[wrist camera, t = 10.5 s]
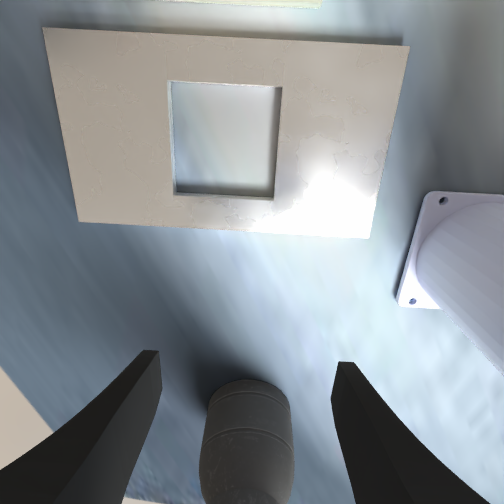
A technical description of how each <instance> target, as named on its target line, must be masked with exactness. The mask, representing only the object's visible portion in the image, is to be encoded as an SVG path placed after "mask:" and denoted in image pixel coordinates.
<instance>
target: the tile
mask: <svg viewBox="0 0 504 504" xmlns="http://www.w3.org/2000/svg"><path fill="white" fill-rule="evenodd" d="M157 1H177V2H196V3H216V4H236V5H255V6H275V7H294V8H314V9H319V8H320V6H321V4H322V0H157Z"/></svg>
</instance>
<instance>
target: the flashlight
mask: <svg viewBox="0 0 504 504" xmlns="http://www.w3.org/2000/svg"><path fill="white" fill-rule="evenodd" d="M199 477H200V484H201V491H202V496H203V498H204V500H205V502H206V504H287V502H288V500H289V497H290V494H291V489H292V485H293V480H294V447H293V436H292V424H291V413H290V406H289V402H288V400H287V398H286V396H285V395H284V394H283V393H282V392H281V391H280V390H279V389H277V388H276V387H275V386H273V385H270V384H268V383H265V382H262V381H258V380H238V381H233V382H230V383H227V384H225V385H224V386H222V387H220V388H219V389H218V390H216V391H215V393H214V394H213V395H212V397H211V399H210V401H209V406H208V412H207V417H206V423H205V429H204V435H203V441H202V447H201V453H200V460H199Z"/></svg>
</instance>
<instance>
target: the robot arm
mask: <svg viewBox="0 0 504 504" xmlns="http://www.w3.org/2000/svg"><path fill="white" fill-rule="evenodd" d="M442 197H445V200H444V202H442V203H441V204H439V200H440V199H441V198H442ZM412 298H414V299H413V301H410V302H409V300H410V299H412ZM396 302H397V303H398V305H400V306H402V307H414V308H432V309H442V311H443V312H444V313H445V314H446V315H447V316H448V317H449V318H450V319H451V320H452V321H453V322H454V323H455V324H456V326H457V327H458V328H459V329H460V330H461V331H462V332H463V333H464V334H465V335H466V336H467V337H468V338H469V339H470V341H471V342H472V343H473V344H474V345H475V346H476V347H477V348H478V349H479V350H480V351H481V352H482V353H483V354H484V356H485V357H486V358H487V359H488V360H489V361H490V362H491V363H492V364H493V365H494V366H495V367H496V368H497V369H498V371H499V372H500V373H501V374H502V375H503V376H504V195H499V194H481V193H463V192H445V191H431V192H429V193H428V194H427V195H426V196H425V198H424V200H423V204H422V207H421V211H420V214H419V218H418V221H417V225H416V229H415V232H414V236H413V239H412V243H411V246H410V250H409V253H408V257H407V261H406V264H405V268H404V271H403V275H402V278H401V282H400V285H399V289H398V292H397V296H396ZM161 392H162V379H161V369H160V359H159V351H153V350H143V351H142V352H141V353H140V354H139V355H138V356H137V357H136V358H135V359H134V360H133V361H132V362H131V363H130V364H129V365H128V366H127V367H126V368H125V369H124V370H123V371H122V372H121V373H120V375H119V376H118V377H117V378H116V379H114V380H113V381H112V382H111V383H110V384H109V385H108V386H107V387H106V388H105V389H104V390H103V391H102V392H101V393H100V394H99V395H98V396H97V397H96V398H95V399H93V400H92V401H91V402H90V403H89V404H88V405H87V406H86V407H85V408H83V409H82V410H81V411H80V412H79V413H78V414H76V415H75V416H74V417H73V418H72V419H71V420H69V421H68V422H67V423H66V424H64V425H63V426H62V427H61V428H59V429H58V430H57V431H55V432H54V433H53V434H52V435H50V436H49V437H48V438H46V439H45V440H43V441H42V442H41V443H39V444H38V445H36V446H35V447H34V448H32V449H31V450H29V451H28V452H27V453H25V454H24V455H22V456H21V457H19V458H18V459H16V460H15V461H14V462H12V463H10V464H9V465H8V466H6V467H4V468H3V469H1V470H0V504H121V503H122V500H123V497H124V494H125V491H126V488H127V485H128V482H129V479H130V477H131V474H132V471H133V469H134V467H135V464H136V462H137V459H138V457H139V454H140V452H141V449H142V447H143V444H144V442H145V439H146V437H147V434H148V432H149V429H150V427H151V424H152V421H153V419H154V416H155V413H156V410H157V406H158V403H159V399H160V395H161ZM331 404H332V411H333V417H334V423H335V428H336V431H337V435H338V439H339V443H340V446H341V450H342V453H343V457H344V461H345V464H346V468H347V471H348V475H349V479H350V482H351V486H352V490H353V494H354V498H355V502H356V504H490V503H489V502H487V501H486V500H485V499H484V498H483V497H481V496H480V495H479V494H478V493H476V492H475V491H474V490H473V489H472V488H470V487H469V486H468V485H467V484H466V483H465V482H463V481H462V480H461V479H460V478H459V477H458V476H457V475H455V474H454V473H453V472H452V471H451V470H450V469H449V468H447V467H446V466H445V465H444V464H443V463H442V462H441V461H440V460H439V459H438V458H437V457H436V456H435V455H434V454H433V453H432V452H431V451H429V450H428V449H427V448H426V447H425V446H424V445H423V444H422V443H421V442H420V441H419V440H418V439H417V438H416V436H415V435H414V434H413V433H412V432H411V431H410V430H409V429H408V428H407V427H406V426H405V425H404V423H403V422H402V421H401V420H400V419H399V418H398V417H397V416H396V414H395V413H394V412H393V411H392V410H391V408H390V407H389V406H388V405H387V404H386V402H385V401H384V400H383V399H382V398H381V396H380V395H379V394H378V393H377V391H376V390H375V389H374V388H373V386H372V385H371V384H370V382H369V381H368V380H367V379H366V377H365V376H364V375H363V373H362V372H361V371H360V369H359V368H358V367H357V365H356V364H355V363H354V362H340V361H339V362H338V366H337V371H336V376H335V380H334V385H333V390H332V394H331Z"/></svg>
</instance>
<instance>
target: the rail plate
mask: <svg viewBox="0 0 504 504" xmlns="http://www.w3.org/2000/svg"><path fill="white" fill-rule="evenodd" d="M42 29H43V35H44V40H45V45H46V51H47V56H48V61H49V66H50V72H51V77H52V82H53V87H54V93H55V98H56V103H57V109H58V114H59V119H60V124H61V130H62V135H63V140H64V145H65V151H66V156H67V161H68V167H69V172H70V177H71V182H72V188H73V193H74V198H75V203H76V209H77V214H78V219H79V222H92V223H110V224H127V225H145V226H163V227H181V228H199V229H217V230H234V231H252V232H270V233H288V234H306V235H324V236H342V237H359V238H369V233H370V228H371V224H372V219H373V215H374V210H375V205H376V201H377V196H378V192H379V187H380V183H381V178H382V173H383V169H384V164H385V160H386V155H387V151H388V146H389V141H390V137H391V132H392V128H393V123H394V118H395V114H396V109H397V105H398V100H399V96H400V91H401V86H402V82H403V77H404V73H405V68H406V63H407V59H408V54H409V50H410V46H395V45H375V44H356V43H337V42H317V41H298V40H279V39H259V38H240V37H221V36H201V35H182V34H163V33H143V32H124V31H105V30H85V29H66V28H47V27H42ZM171 82H182V83H201V84H220V85H239V86H258V87H277V88H282V97H281V109H280V122H279V135H278V147H277V160H276V173H275V186H274V198H270V197H252V196H234V195H216V194H198V193H180V192H177V189H176V170H175V150H174V131H173V111H172V92H171Z"/></svg>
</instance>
